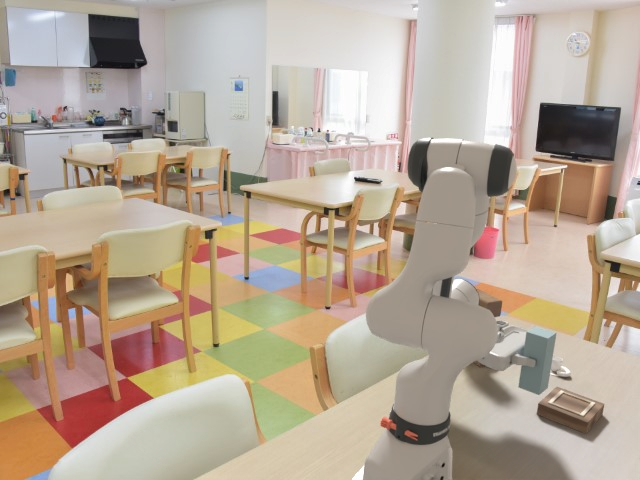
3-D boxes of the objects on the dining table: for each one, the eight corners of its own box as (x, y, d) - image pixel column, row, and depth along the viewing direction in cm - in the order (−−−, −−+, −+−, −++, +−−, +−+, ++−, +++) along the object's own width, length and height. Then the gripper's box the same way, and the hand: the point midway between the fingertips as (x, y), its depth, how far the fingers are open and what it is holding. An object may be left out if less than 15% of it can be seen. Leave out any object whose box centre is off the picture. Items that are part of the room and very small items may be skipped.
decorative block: (495, 364, 174) (503, 300, 169) (479, 368, 172) (487, 303, 167) (471, 349, 184) (478, 288, 179) (456, 352, 182) (462, 290, 176)
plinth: (585, 433, 141) (588, 421, 140) (536, 413, 149) (538, 402, 148) (602, 414, 150) (604, 402, 149) (555, 396, 158) (557, 385, 157)
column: (539, 395, 136) (548, 338, 133) (518, 387, 139) (526, 331, 136) (547, 387, 140) (556, 332, 136) (527, 380, 143) (535, 326, 139)
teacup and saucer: (573, 380, 168) (575, 367, 167) (543, 377, 169) (545, 364, 168) (566, 366, 176) (569, 354, 175) (538, 363, 177) (540, 351, 176)
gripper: (466, 340, 138) (524, 360, 129) (505, 318, 152) (559, 334, 144) (463, 365, 139) (520, 386, 130) (502, 341, 154) (556, 358, 145)
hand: (541, 359), depth 137 cm, fingers closed on column, 5 cm apart
